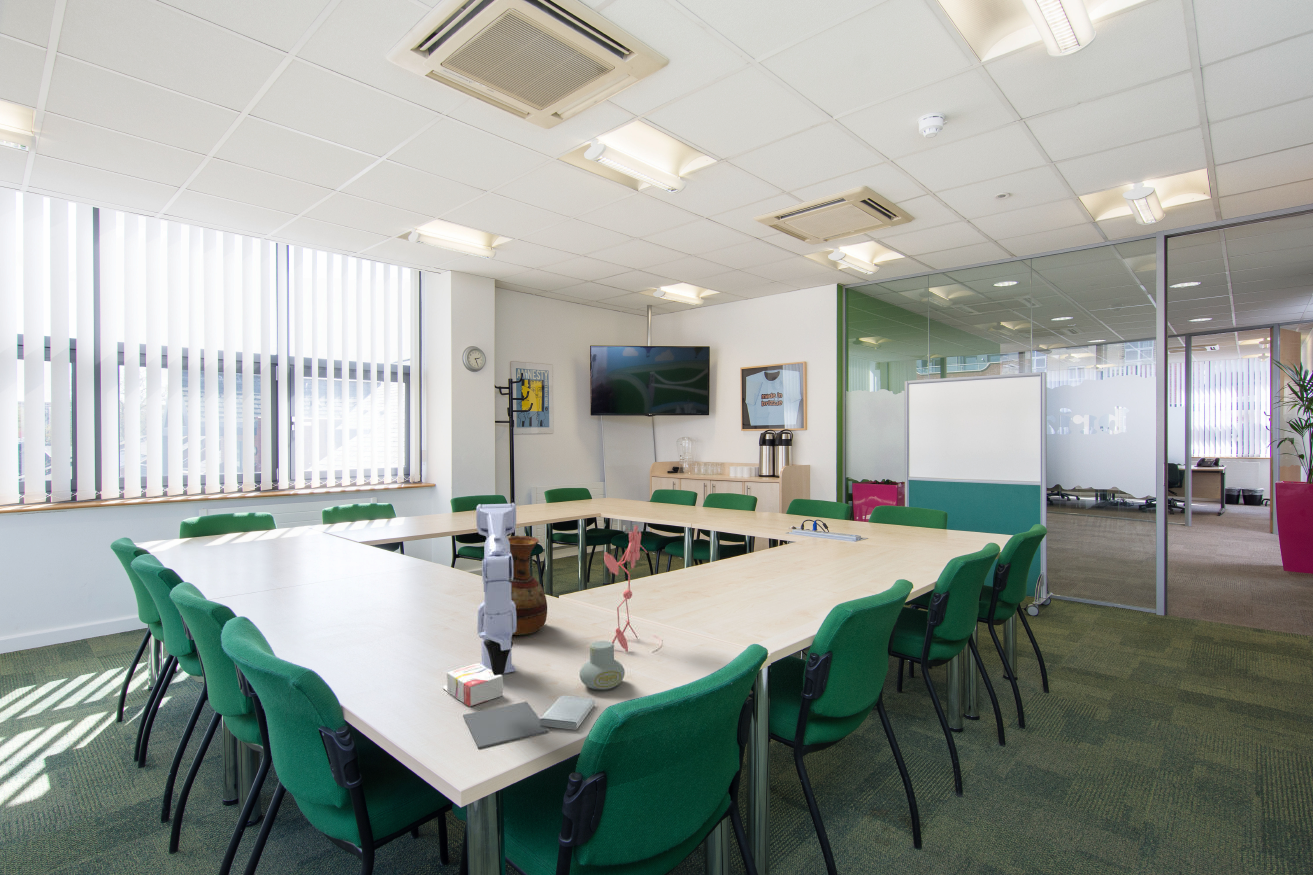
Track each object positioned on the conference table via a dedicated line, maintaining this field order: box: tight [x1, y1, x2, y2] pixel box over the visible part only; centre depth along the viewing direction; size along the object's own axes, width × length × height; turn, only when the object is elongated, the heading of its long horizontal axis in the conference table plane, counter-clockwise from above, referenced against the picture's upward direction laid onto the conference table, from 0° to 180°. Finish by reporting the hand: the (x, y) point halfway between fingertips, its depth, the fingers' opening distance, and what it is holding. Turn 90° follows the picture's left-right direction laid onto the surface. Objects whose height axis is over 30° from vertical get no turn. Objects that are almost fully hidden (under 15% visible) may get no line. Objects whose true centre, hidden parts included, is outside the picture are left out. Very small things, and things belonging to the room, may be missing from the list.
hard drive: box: [539, 695, 596, 731], centre depth 131 cm, size 2×8×12 cm
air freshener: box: [579, 640, 626, 691], centre depth 148 cm, size 11×8×10 cm
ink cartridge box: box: [442, 662, 504, 707], centre depth 144 cm, size 9×5×15 cm
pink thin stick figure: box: [603, 524, 663, 653], centre depth 177 cm, size 15×26×35 cm, turn 165°
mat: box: [462, 701, 549, 750], centre depth 128 cm, size 16×14×1 cm
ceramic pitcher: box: [507, 535, 548, 636], centre depth 192 cm, size 20×20×30 cm
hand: (498, 673), depth 132 cm, fingers closed
